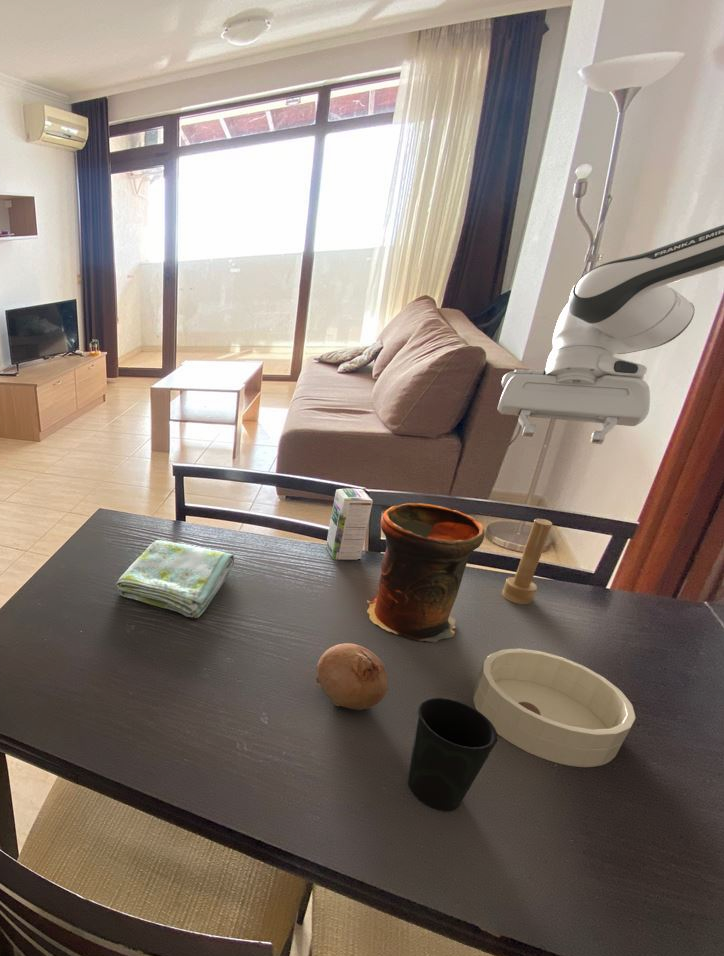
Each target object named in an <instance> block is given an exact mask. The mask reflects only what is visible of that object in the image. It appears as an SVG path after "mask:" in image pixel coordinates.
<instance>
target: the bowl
mask: <svg viewBox="0 0 724 956" xmlns="http://www.w3.org/2000/svg"><path fill="white" fill-rule="evenodd" d="M472 699H473V700H472V701H473V704H474V707H475V709H476V710H477V711H479V712H480V713H481V714H483V715H484V716H485V717H486V718H487V719H488V720H489V721H490V722H491V723H492V725H493V726H494V728H495V730H496V732H497V735H499V736H500V737H501V738H503V739H504V740H506V741H507V742H509V743H510V744H512V745H513V746H515V747H516V748H519V749H521V750H523V751H525V752H526V753H528V754H531V755H533V756H536V757H537V758H540V759H543V760H545V761H549V762H551V763H556V764H559V765H564V766H570V767H577V768H596V767H600V766H604V765H607V764H608V763H610V762H612V761H613V760H614V759H615V758H616V757H617V755H618V752H619V751H620V748H621V747H622V745H623V744H624V741H626V740H625V739H626V738H627V736H628V735H629V732H630V731H631V729H632V726H633V725H634V722H635V721H636V719H637V717H636V713H635V710H634V706H633V704H632V702H631V701H630V700H629V699H628V698H627V696H626V695H625V694H624V692H623V691H622V690H621V689H620V688H618V687H617V686H616V685H614V684H613V683H612V682H611V681H609V680H608V679H607V678H606V677H604V676H602V675H600V674H599V673H597V672H596V671H594V670H592V669H590V668H588V667H586V666H585V665H582V664H580V663H578V662H576V661H573V660H570V659H568V658H565V657H562V656H559V655H556V654H553V653H548V652H544V651H542V650H533V649H525V648H508V649H507V648H506V649H501V650H497V651H495V652H491V653H490V654H489V655H487V657H486V659H484V661H483V663H482V665H481V668H480V672H479V675H478V677H477V679H476V683H475V686H474V691H473V696H472ZM519 702H528V703H531V704H533V705H534V706H536V707H537V708H538V709H539V711H540V713H541V716H540V715H538V714H536V713H534V712H532V711H530V710H528V709H526V708H524V707H523V706H521V705H520V704H519Z"/></svg>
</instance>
